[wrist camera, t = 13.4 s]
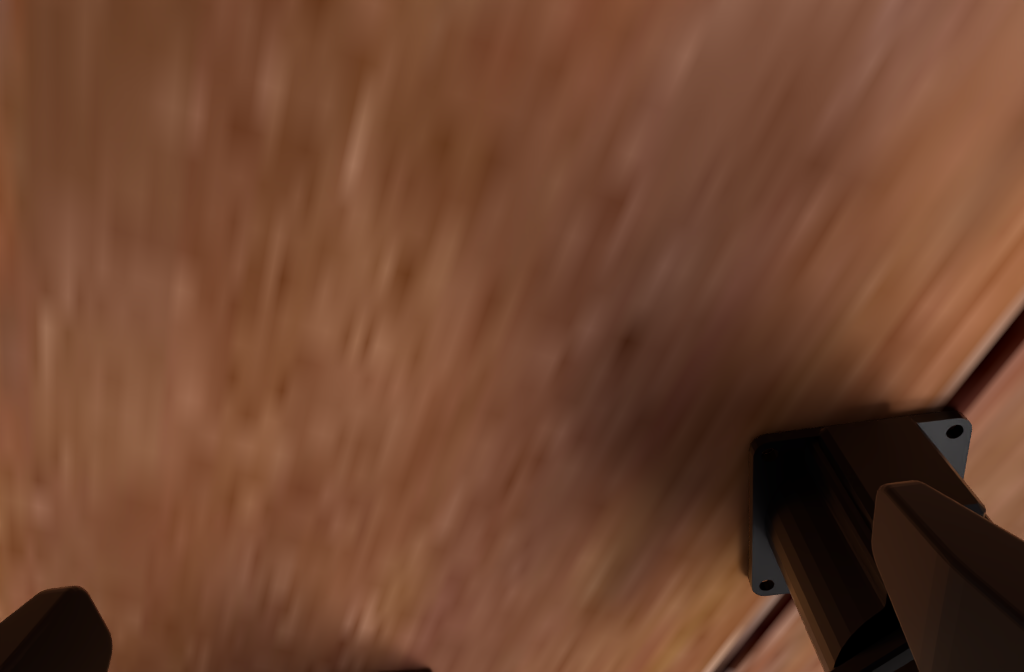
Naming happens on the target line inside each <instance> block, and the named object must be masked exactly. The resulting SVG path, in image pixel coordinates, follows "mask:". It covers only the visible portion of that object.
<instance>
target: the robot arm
mask: <svg viewBox="0 0 1024 672" xmlns="http://www.w3.org/2000/svg"><path fill="white" fill-rule="evenodd" d="M954 425H956V426H955V427H954V428H953V429H952V430H949V431H947V430H948V429H949V428H950V427H951V426H954ZM971 432H972V425H971V423H970V422H969V421H968V420H967V418H966V417H965V416H964V415H963V414H962V413H960V412H958V411H943V412H935V413H927V414H919V415H912V416H904V417H896V418H888V419H880V420H872V421H864V422H856V423H849V424H841V425H833V426H825V427H817V428H809V429H802V430H794V431H786V432H778V433H770V434H764V435H761V436H759V437H757V438H756V439H754V440H753V442H752V443H751V445H750V449H749V568H748V578H749V582H750V585H751V587H752V590H753V592H755V593H756V594H757V595H760V596H769V595H778V594H786V593H791V596H792V598H793V600H794V603H795V605H796V607H797V609H798V612H799V614H800V616H801V619H802V621H803V623H804V626H805V628H806V630H807V633H808V635H809V637H810V639H811V642H812V644H813V646H814V649H815V651H816V653H817V656H818V658H819V660H820V663H821V665H822V667H823V669H824V672H1024V541H1023V540H1022V539H1020V538H1018V537H1017V536H1015V535H1013V534H1011V533H1010V532H1008V531H1006V530H1004V529H1003V528H1001V527H999V526H998V525H996V524H994V523H993V522H992V521H991V520H990V518H989V517H988V516H987V515H986V509H985V506H984V505H983V503H982V502H981V501H980V500H979V498H978V497H977V496H976V495H975V494H974V492H973V491H972V490H971V489H970V487H969V486H968V485H967V484H966V483H965V481H964V480H963V478H964V472H965V466H966V461H967V455H968V449H969V444H970V438H971ZM770 448H772V449H773V450H772V451H771V452H770V453H767V454H762V453H763V452H764V451H765V450H767V449H770ZM764 580H767V581H764ZM762 581H764V582H762ZM111 655H112V638H111V634H110V631H109V629H108V627H107V626H106V624H105V622H104V620H103V619H102V617H101V615H100V613H99V611H98V610H97V608H96V606H95V604H94V603H93V601H92V599H91V597H90V595H89V594H88V592H87V591H86V590H85V589H83V588H82V587H80V586H68V587H60V588H52V589H47V590H44V591H42V592H40V593H38V594H37V595H35V596H34V597H33V598H32V599H30V600H29V601H28V602H26V603H25V604H24V605H23V606H21V607H20V608H19V609H18V610H16V611H15V612H14V613H12V614H11V615H10V616H9V617H7V618H6V619H5V620H3V621H2V622H1V623H0V672H108V668H109V664H110V660H111Z"/></svg>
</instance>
